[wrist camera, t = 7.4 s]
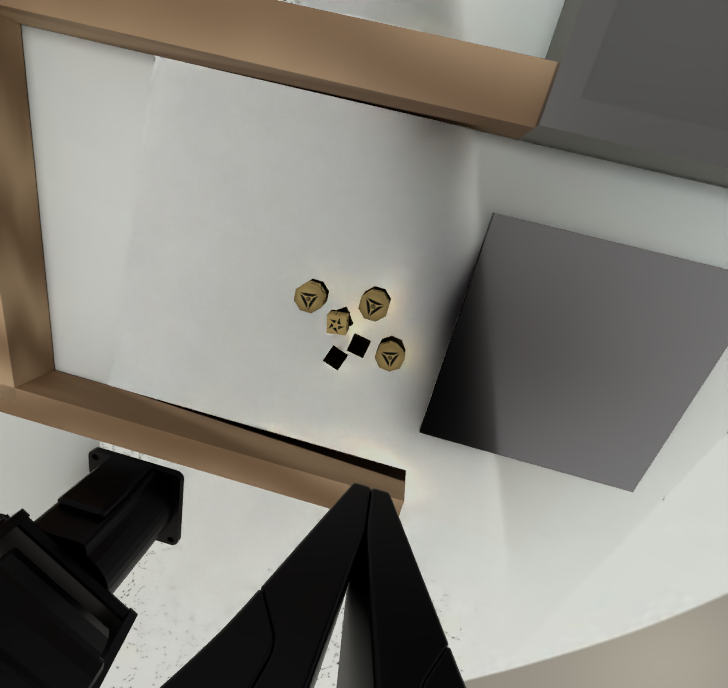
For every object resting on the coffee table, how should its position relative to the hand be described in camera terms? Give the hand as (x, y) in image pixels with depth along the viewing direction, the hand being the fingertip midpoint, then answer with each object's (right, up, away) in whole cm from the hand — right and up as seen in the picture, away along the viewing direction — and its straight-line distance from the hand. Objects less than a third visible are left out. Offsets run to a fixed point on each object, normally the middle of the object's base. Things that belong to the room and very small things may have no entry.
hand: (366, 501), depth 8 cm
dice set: (0, +5, +12) cm, 13 cm away
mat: (+10, +3, +10) cm, 15 cm away
